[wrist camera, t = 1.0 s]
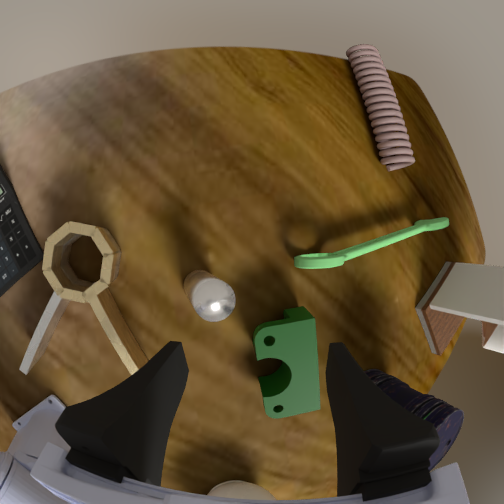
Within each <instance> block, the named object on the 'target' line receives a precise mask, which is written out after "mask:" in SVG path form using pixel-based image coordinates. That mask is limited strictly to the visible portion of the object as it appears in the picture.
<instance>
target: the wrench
mask: <svg viewBox="0 0 504 504" xmlns="http://www.w3.org/2000/svg"><path fill="white" fill-rule="evenodd" d="M447 226H449V219H448V218H446V217H442V218H436V219H431V220H419V221H417V222H415V223H414V226H411V227H408V228H405V229H402V230H399V231H397V232H394V233H391V234H388V235H385V236H382V237H379V238H376V239H373V240H370V241H367V242H364V243H361V244H358V245H355V246H352V247H349V248H346V249H343V250H340V251H337V252H334V253H316V254H305V255H299V256H296V257H294V266H296V267H298V268H308V269H318V268H331V267H337V266H340V265H343V264H344V261H346V260H349V259H352V258H354V257H357V256H360V255H363V254H365V253H368V252H371V251H373V250H376V249H379V248H382V247H384V246H387V245H390V244H392V243H395V242H397V241H400V240H403V239H405V238H408V237H410V236H413V235H416V234H418V233H421V232H423V231H433V230H438V229H442V228H445V227H447Z"/></svg>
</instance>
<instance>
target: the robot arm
mask: <svg viewBox="0 0 504 504" xmlns="http://www.w3.org/2000/svg"><path fill="white" fill-rule="evenodd" d="M188 372H189V369H188V366H187V362H186V358H185V354H184V351H183V347H182V343H181V342H176V341H170V342H169V343H167V344H166V345H165V346H164V347H163V348H162V349H161V350H160V351H159V352H158V353H157V354H156V355H155V356H154V357H153V358H151V359H150V360H149V361H148V362H147V363H146V364H145V365H144V366H142V367H141V368H140V369H139V370H138V371H136V372H135V373H134V374H133V375H131V376H130V377H129V378H127V379H126V380H125V381H123V382H122V383H120V384H118V385H117V386H115V387H114V388H112V389H110V390H108V391H106V392H104V393H103V394H101V395H99V396H96V397H94V398H92V399H89V400H87V401H84V402H81V403H78V404H75V405H72V406H68V407H66V406H65V405H64V404H63V403H62V402H61V401H60V400H59V399H58V398H57V397H56V396H55V395H50V396H48V397H47V398H46V399H44V400H43V401H42V402H40V403H39V404H38V405H36V406H35V407H34V408H32V409H31V410H29V411H28V412H27V413H25V414H24V415H23V416H21V417H20V418H19V419H17V420H16V421H15V422H13V424H12V425H13V427H14V428H15V429H16V430H17V433H16V435H15V437H14V439H13V441H12V443H11V444H10V446H9V448H8V450H7V451H6V452H0V504H469V503H470V502H469V499H468V495H467V492H466V489H465V485H464V482H463V479H462V476H461V472H460V469H459V466H458V464H457V463H456V462H455V463H452V464H450V465H447V466H444V467H441V468H438V469H436V470H434V471H432V472H429V469H428V467H430V461H429V458H430V457H431V456H432V455H433V453H434V452H435V451H436V450H437V448H438V447H439V445H440V438H439V435H438V433H437V430H436V428H435V427H434V425H433V423H431V422H429V421H427V420H425V419H422V418H420V417H418V416H416V415H415V414H413V413H411V412H410V411H408V410H406V409H405V408H403V407H402V406H400V405H399V404H398V403H396V402H395V401H394V400H392V399H391V398H390V397H389V396H387V395H386V394H385V393H384V392H383V391H382V390H381V389H380V388H379V387H378V386H377V385H376V384H375V383H374V382H373V381H372V380H371V379H370V378H369V377H368V376H367V374H366V373H365V372H364V371H363V370H362V368H361V367H360V366H359V365H358V363H357V362H356V361H355V359H354V358H353V357H352V355H351V354H350V352H349V351H348V349H347V348H346V346H345V345H344V344H343V343H342V342H338V343H330V345H329V352H328V360H327V366H326V384H327V392H328V397H329V402H330V407H331V412H332V417H333V421H334V426H335V433H336V447H337V477H338V484H337V497H331V498H320V499H306V500H250V499H235V498H225V497H216V496H208V495H201V494H195V493H189V492H183V491H178V490H173V489H168V488H164V487H160V486H161V476H162V469H163V462H164V456H165V451H166V446H167V441H168V436H169V432H170V428H171V425H172V422H173V419H174V416H175V414H176V411H177V408H178V406H179V403H180V400H181V398H182V395H183V392H184V389H185V386H186V382H187V377H188ZM49 400H51V401H52V402H50V401H49ZM20 423H21V424H20Z"/></svg>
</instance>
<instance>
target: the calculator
mask: <svg viewBox="0 0 504 504" xmlns="http://www.w3.org/2000/svg"><path fill="white" fill-rule="evenodd" d="M43 257H44V253H43V251H42V249H41V247H40V245H39V243H38V241H37V239H36V237H35V235H34V233H33V231H32V229H31V227H30V225H29V223H28V221H27V219H26V216H25V214H24V212H23V210H22V208H21V205H20V203H19V201H18V198H17V196H16V193H15V191H14V188H13V186H12V184H11V182H10V181H9V179H8V177H7V175H6V174H5V172H4V170H3V168H2V166H1V165H0V297H1V296H2V295H3V294H4V293H5V292H6V291H7V290H8V289H9V288H10V287H11V286H13V285H14V284H15V283H16V282H17V281H18V280H19V279H20V278H21V277H23V276H24V275H25V274H26V273H27V272H28V271H29V270H31V269H32V268H33V267H34V266H35V265H37V264H38V263H39V262H40V261H41V260H43Z"/></svg>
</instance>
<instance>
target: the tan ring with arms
mask: <svg viewBox="0 0 504 504" xmlns="http://www.w3.org/2000/svg"><path fill="white" fill-rule="evenodd" d="M83 235H86V236H91V237H92V239H93V241H94V242H95V244H96V245H97V247H98V249H99V250H100V252H101V253H102V255H103V261H102V268H101V275H100V280H98V281H97V282H96V283H95V282H90V281H86V280H81V279H78V277H77V276H76V274H75V272H74V271H73V269H72V268H71V266H70V265H69V257H70V250H71V244H73V243H74V242H75V241H76V240H78V239H79V238H80V237H82V236H83ZM47 240H48V241H46V242H45V249H44V257H43V266H42V270H45V271H43V274H44V275H45V277H46V278H47V280H48V282H49V283H50V285H51V286H52V288H53V290H54V293H53V295H52V297H51V299H50V301H49V303H48V305H47V307H46V309H45V311H44V313H43V315H42V317H41V319H40V321H39V323H38V326H37V328H36V330H35V332H34V334H33V337H32V339H31V341H30V344H29V346H28V349H27V351H26V353H25V356H24V358H23V361H22V364H21V366H20V369H19V370H21V371H22V372H23V373H24V374H26V375H27V374H28V372H29V371H30V370H31V369H32V368H33V366H34V365H35V364H36V363H37V361H38V360H39V359H40V358H41V357H42V356H43V354H44V352H45V350H46V347H47V345H48V343H49V341H50V339H51V337H52V335H53V333H54V331H55V329H56V327H57V325H58V323H59V321H60V319H61V317H62V315H63V313H64V311H65V309H66V307H67V305H68V304H69V302H70V300H73V301H77V302H82V303H86V302H87V303H88V302H90V304H91V306H92V308H93V310H94V312H95V314H96V316H97V318H98V320H99V322H100V323H101V325H102V327H103V329H104V331H105V333H106V334H107V336H108V338H109V340H110V341H111V343H112V345H113V346H114V348H115V350H116V351H117V353H118V355H119V356H120V358H121V359H122V361H123V363H124V364H125V366H126V367H127V369H128V370H129V372H130V374H131V375H133V374H134V373H135V372H136V371H138V370H139V369H140V368H141V367H142V366H144V365H145V364H146V363H147V362H148V360H147V358H146V356H145V355H144V353H143V351H142V350H141V348H140V346H139V345H138V343H137V341H136V339H135V338H134V336H133V334H132V332H131V331H130V329H129V327H128V325H127V323H126V322H125V320H124V318H123V316H122V314H121V312H120V310H119V308H118V306H117V304H116V303H115V301H114V299H113V297H112V295H111V293H110V291H109V288H108V286H109V285H110V284H111V283H112V282H113V281H114V280H115V279H116V278H117V276H118V270H119V264H120V257H121V252H119V251H120V250H121V249H120V248H119V246H118V245H117V243H116V241H115V240H114V238H113V237H112V235H111V234H110V232H109V230H107V229H106V228H102V227H97V226H92V225H87V224H82V223H77V222H72V221H70V222H66V223H65V224H64V225H63V226H62V227H60V228H59V229H58V230H57V231H56V232H54V233H53V234H52V235H51V236H50V237H48V238H47Z"/></svg>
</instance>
